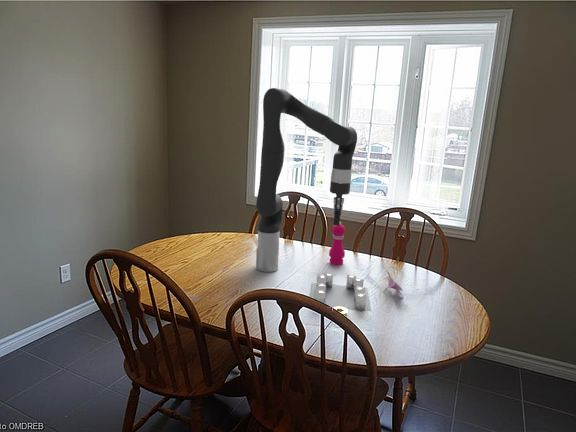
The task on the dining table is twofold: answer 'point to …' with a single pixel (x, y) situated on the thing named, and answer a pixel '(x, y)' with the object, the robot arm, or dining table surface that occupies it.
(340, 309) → the nut
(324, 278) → the spacers
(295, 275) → the dining table surface
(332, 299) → the board
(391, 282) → the lily
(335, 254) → the pepper mill
